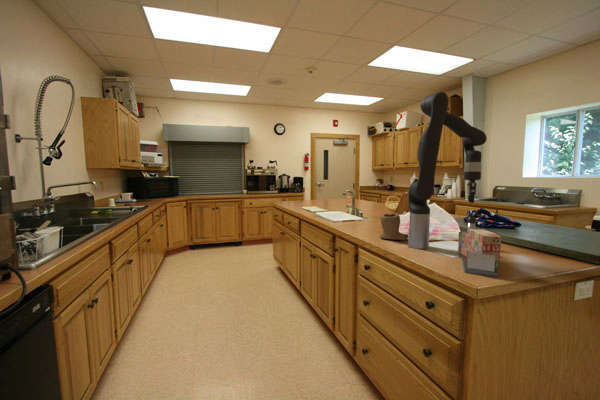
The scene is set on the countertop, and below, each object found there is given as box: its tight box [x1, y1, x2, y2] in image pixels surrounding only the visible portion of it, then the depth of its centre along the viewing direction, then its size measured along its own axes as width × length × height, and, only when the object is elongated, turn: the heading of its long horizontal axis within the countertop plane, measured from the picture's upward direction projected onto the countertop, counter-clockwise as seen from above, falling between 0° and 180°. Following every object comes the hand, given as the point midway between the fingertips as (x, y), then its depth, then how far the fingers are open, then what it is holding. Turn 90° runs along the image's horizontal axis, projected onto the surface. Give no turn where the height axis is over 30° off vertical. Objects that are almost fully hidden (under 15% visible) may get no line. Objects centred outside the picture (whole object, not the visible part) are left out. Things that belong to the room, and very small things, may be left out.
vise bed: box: [459, 251, 499, 278], centre depth 109 cm, size 10×36×8 cm, turn 151°
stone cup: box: [379, 212, 409, 241], centre depth 147 cm, size 15×12×15 cm
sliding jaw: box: [466, 216, 477, 232], centre depth 126 cm, size 8×15×14 cm, turn 151°
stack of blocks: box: [457, 228, 502, 269], centre depth 107 cm, size 21×6×12 cm, turn 169°
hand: (470, 202), depth 138 cm, fingers open, 7 cm apart
